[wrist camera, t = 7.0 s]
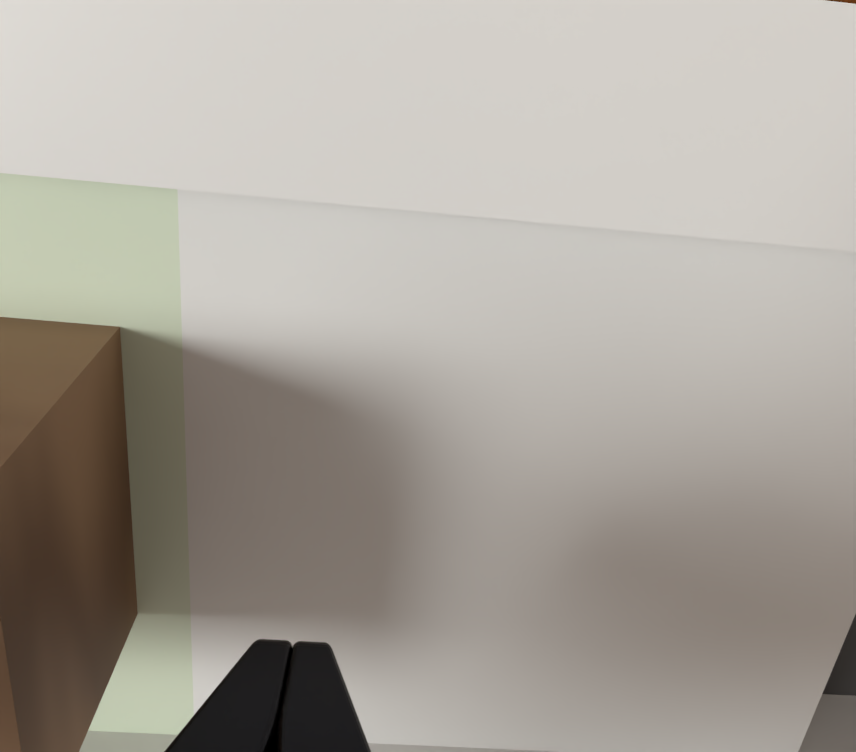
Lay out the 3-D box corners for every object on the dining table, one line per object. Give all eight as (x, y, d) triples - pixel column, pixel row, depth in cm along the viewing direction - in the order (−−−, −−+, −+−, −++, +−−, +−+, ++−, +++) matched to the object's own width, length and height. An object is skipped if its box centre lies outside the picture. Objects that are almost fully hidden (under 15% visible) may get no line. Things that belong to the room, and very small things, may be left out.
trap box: (1018, 776, 18) (1147, 938, 15) (-547, 707, 16) (-781, 883, 13) (1428, 81, 12) (1794, 112, 9) (-1059, -202, 10) (-1769, -298, 6)
